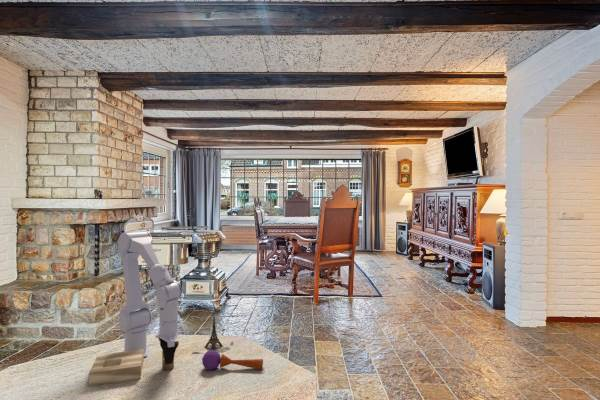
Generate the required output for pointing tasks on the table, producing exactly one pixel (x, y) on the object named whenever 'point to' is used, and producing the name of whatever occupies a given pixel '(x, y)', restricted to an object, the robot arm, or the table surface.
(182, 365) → the table surface
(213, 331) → the eiffel tower figurine
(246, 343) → the table surface
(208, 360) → the kendama
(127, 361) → the socket block
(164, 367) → the peg
